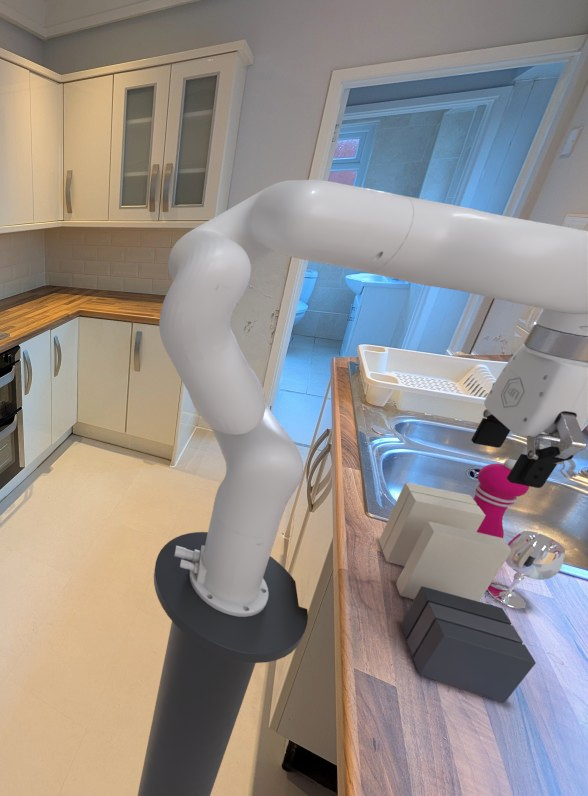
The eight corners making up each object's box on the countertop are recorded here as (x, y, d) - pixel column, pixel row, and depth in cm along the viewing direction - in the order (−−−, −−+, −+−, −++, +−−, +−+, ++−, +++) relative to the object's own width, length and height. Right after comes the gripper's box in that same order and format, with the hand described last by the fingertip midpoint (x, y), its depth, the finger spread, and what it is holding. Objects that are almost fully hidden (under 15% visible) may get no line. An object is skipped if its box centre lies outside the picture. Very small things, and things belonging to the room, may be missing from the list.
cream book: (400, 595, 70) (433, 531, 64) (395, 583, 72) (427, 520, 66) (470, 615, 67) (512, 550, 61) (463, 602, 69) (503, 538, 63)
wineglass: (473, 578, 73) (505, 525, 68) (512, 584, 72) (548, 531, 67) (498, 608, 68) (535, 553, 63) (541, 615, 67) (583, 560, 61)
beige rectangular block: (386, 561, 76) (415, 500, 70) (378, 541, 81) (405, 481, 75) (449, 578, 73) (486, 515, 67) (437, 555, 77) (470, 495, 71)
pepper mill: (447, 557, 77) (498, 467, 68) (431, 530, 83) (475, 444, 74) (499, 569, 74) (558, 478, 66) (478, 540, 81) (529, 453, 72)
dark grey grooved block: (418, 675, 59) (443, 635, 55) (400, 624, 65) (421, 585, 62) (504, 703, 55) (536, 663, 52) (475, 647, 62) (502, 607, 58)
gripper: (494, 321, 59) (442, 427, 66) (578, 365, 44) (500, 494, 52) (567, 328, 56) (504, 437, 64) (681, 377, 42) (583, 511, 49)
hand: (502, 462), depth 58 cm, fingers open, 9 cm apart
